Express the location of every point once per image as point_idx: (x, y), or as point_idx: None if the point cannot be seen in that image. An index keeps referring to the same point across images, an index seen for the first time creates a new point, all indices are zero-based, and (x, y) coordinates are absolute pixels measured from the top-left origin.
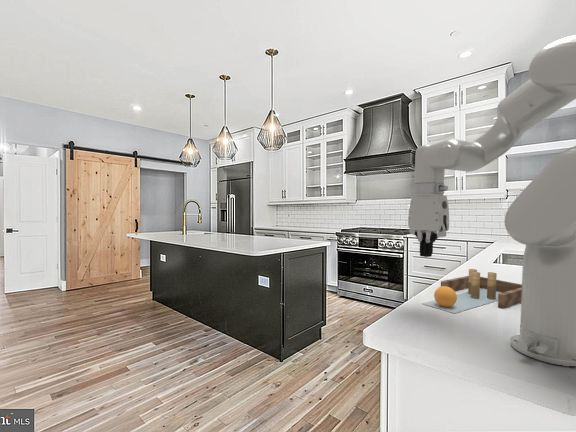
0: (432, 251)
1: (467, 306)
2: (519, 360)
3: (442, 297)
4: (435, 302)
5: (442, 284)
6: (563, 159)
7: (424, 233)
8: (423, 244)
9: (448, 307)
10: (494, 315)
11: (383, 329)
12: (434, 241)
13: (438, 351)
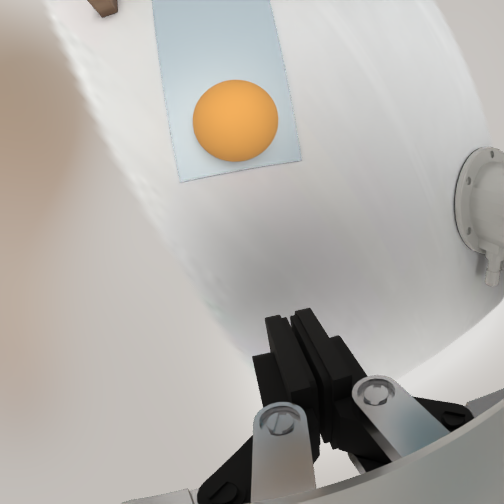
0: (342, 342)
1: (266, 57)
2: (474, 273)
3: (254, 156)
4: (188, 125)
5: (97, 1)
6: None
7: (292, 488)
8: (322, 436)
9: None
10: (351, 62)
11: None
12: (388, 384)
13: (406, 364)
